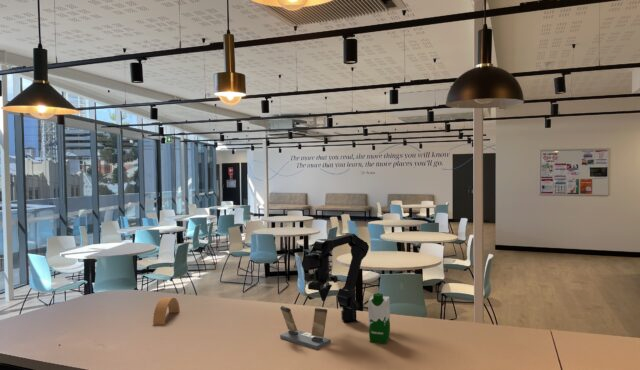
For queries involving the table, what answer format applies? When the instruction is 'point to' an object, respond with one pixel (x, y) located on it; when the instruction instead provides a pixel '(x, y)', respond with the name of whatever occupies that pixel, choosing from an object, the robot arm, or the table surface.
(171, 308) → the arch
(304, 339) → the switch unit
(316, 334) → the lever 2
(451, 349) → the table surface
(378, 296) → the milk carton
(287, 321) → the lever
